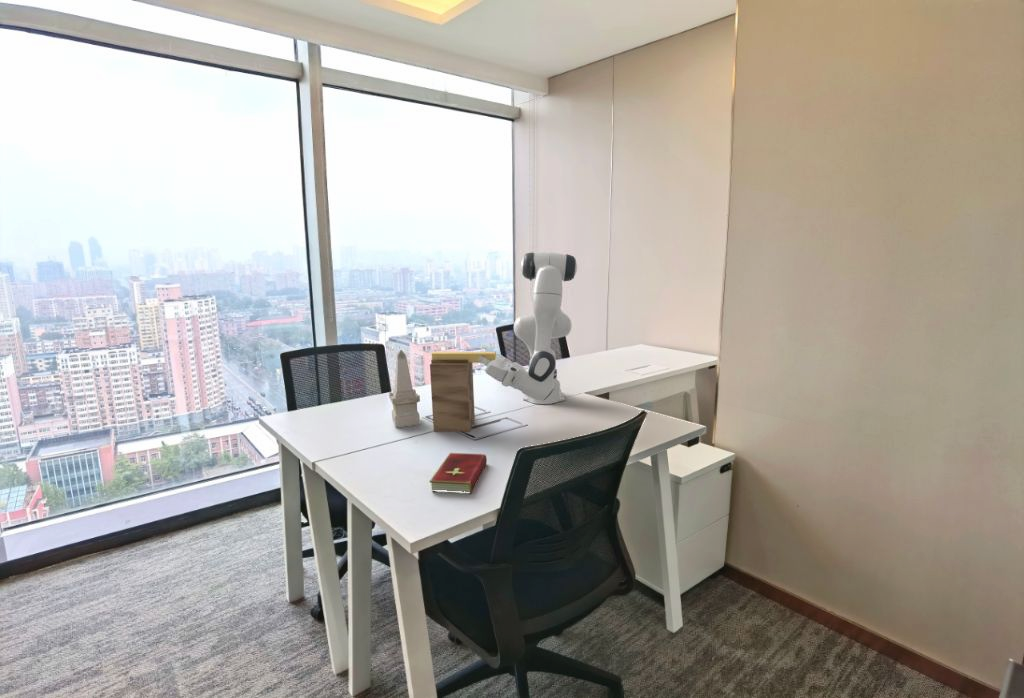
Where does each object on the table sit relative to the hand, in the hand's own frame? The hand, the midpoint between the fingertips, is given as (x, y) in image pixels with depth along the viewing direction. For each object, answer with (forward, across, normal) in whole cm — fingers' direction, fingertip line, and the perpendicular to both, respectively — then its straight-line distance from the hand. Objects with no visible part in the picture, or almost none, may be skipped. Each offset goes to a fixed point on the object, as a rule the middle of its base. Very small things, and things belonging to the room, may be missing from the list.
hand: (480, 355), depth 196 cm
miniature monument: (+14, -4, +41) cm, 43 cm away
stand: (-4, 0, +30) cm, 30 cm away
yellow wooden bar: (+4, 0, +5) cm, 7 cm away
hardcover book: (-16, +45, +24) cm, 54 cm away
